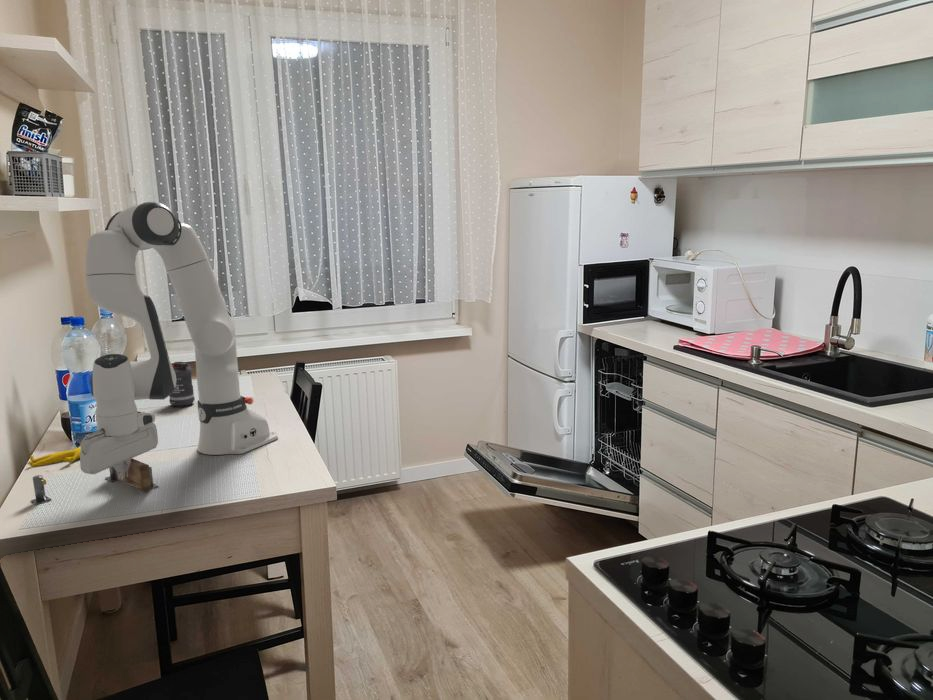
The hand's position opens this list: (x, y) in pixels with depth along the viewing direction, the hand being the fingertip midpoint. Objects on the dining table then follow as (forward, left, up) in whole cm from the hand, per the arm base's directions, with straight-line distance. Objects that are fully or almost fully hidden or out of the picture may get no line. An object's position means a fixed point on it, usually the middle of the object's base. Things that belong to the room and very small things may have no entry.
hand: (123, 478), depth 168 cm
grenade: (-47, -59, -4) cm, 76 cm away
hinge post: (-2, -10, -3) cm, 11 cm away
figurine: (-1, -34, -4) cm, 35 cm away
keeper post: (-5, +3, -3) cm, 6 cm away
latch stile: (+15, -10, -3) cm, 18 cm away
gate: (-3, -1, -3) cm, 4 cm away
